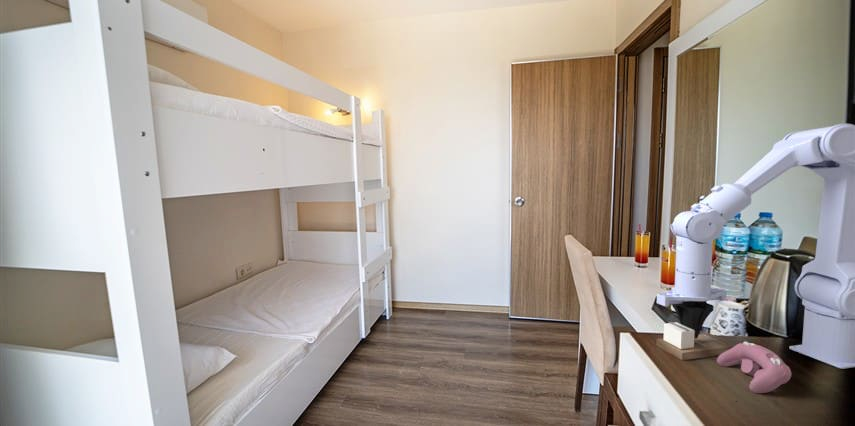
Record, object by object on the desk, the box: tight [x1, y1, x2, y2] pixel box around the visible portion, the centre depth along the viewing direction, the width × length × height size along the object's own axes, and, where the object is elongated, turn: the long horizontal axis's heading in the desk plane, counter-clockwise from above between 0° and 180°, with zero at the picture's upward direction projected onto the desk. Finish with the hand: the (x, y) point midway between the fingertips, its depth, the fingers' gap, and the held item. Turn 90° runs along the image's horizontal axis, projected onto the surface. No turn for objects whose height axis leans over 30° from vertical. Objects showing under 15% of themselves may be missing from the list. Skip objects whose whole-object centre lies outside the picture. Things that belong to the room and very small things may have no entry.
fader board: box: [655, 332, 737, 361], centre depth 70 cm, size 13×6×2 cm, turn 100°
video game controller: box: [716, 340, 792, 394], centre depth 59 cm, size 10×5×7 cm, turn 169°
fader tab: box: [663, 321, 695, 349], centre depth 69 cm, size 3×4×4 cm
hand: (690, 336), depth 70 cm, fingers closed
